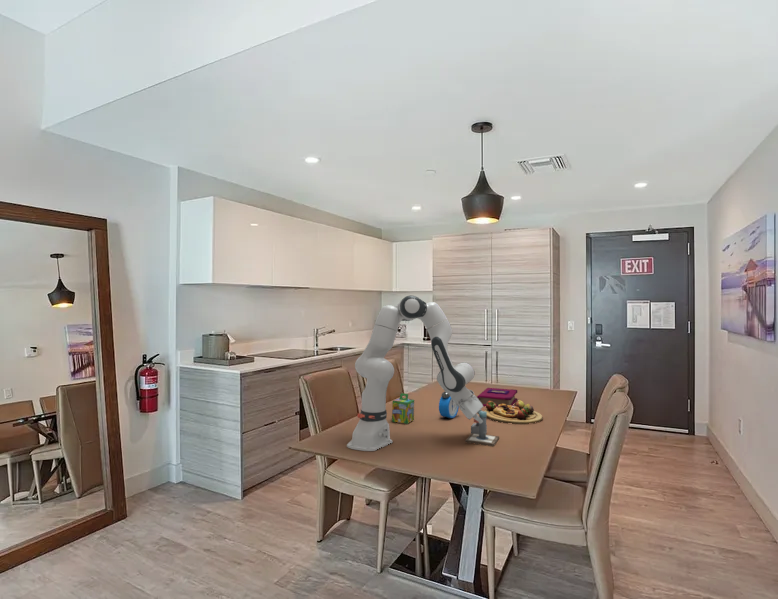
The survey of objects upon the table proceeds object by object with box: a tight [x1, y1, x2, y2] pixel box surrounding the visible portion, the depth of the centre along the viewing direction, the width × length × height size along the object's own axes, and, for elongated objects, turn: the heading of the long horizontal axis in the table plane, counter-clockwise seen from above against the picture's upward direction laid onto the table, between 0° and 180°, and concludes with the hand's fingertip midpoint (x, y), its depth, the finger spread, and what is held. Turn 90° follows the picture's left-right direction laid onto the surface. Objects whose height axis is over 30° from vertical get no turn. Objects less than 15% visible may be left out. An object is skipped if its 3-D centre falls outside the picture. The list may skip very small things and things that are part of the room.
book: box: [476, 387, 518, 407], centre depth 295 cm, size 21×28×8 cm
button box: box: [470, 422, 488, 435], centre depth 227 cm, size 6×6×4 cm
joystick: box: [478, 410, 487, 439], centre depth 216 cm, size 3×3×12 cm
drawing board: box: [464, 433, 500, 447], centre depth 216 cm, size 13×13×1 cm
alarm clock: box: [438, 391, 460, 420], centre depth 258 cm, size 13×6×15 cm, turn 144°
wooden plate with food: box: [483, 399, 544, 425], centre depth 260 cm, size 32×32×8 cm
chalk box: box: [391, 392, 415, 425], centre depth 249 cm, size 9×9×15 cm
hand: (483, 420), depth 216 cm, fingers open, 5 cm apart
